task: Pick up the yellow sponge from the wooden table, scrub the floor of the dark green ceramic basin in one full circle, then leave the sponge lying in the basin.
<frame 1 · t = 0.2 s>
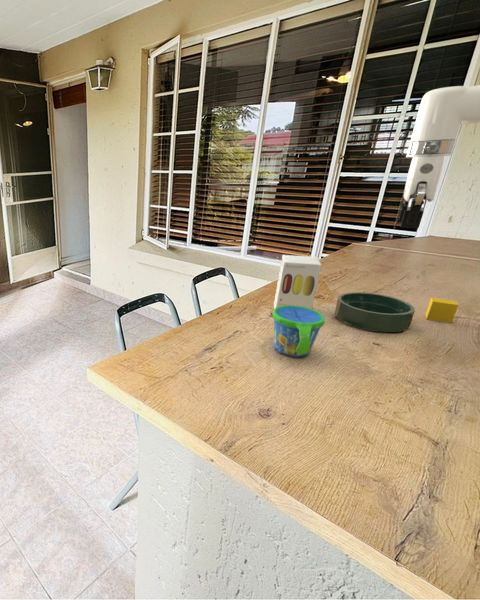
hand: (407, 224, 86), 28 cm above the counter, tool pointing down, fingers open, 9 cm apart
snack cup: (291, 351, 86), on the counter
supplement box: (290, 312, 108), on the counter
sponge: (438, 319, 98), on the counter
basin: (369, 320, 99), on the counter
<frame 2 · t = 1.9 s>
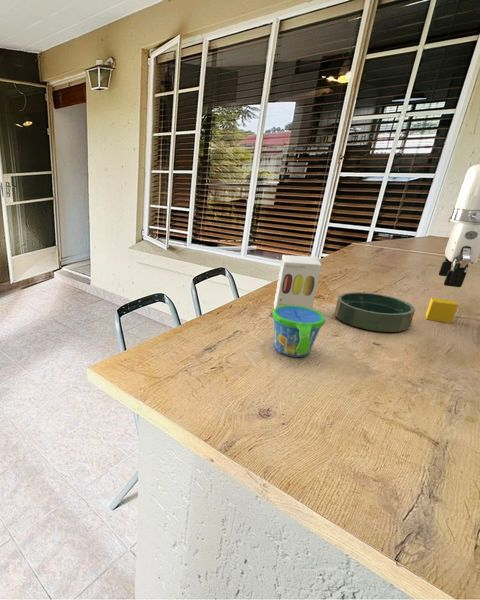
hand: (449, 280, 94), 11 cm above the counter, tool pointing down, fingers open, 9 cm apart
nothing on the counter moved.
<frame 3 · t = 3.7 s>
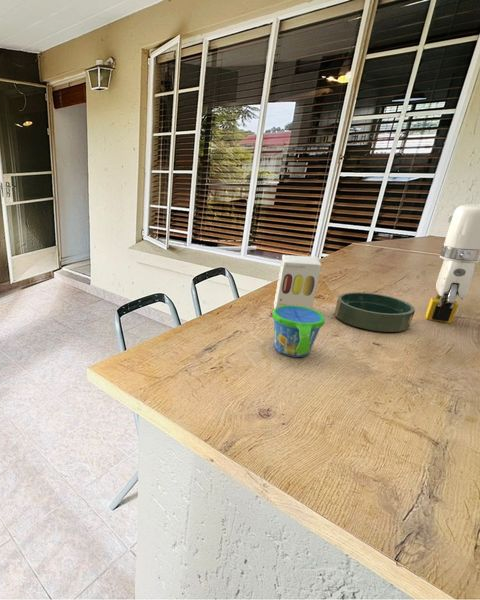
hand: (438, 316, 97), 1 cm above the counter, tool pointing down, fingers closed on sponge, 3 cm apart
sponge: (438, 319, 98), on the counter, touching gripper
everything else where it was.
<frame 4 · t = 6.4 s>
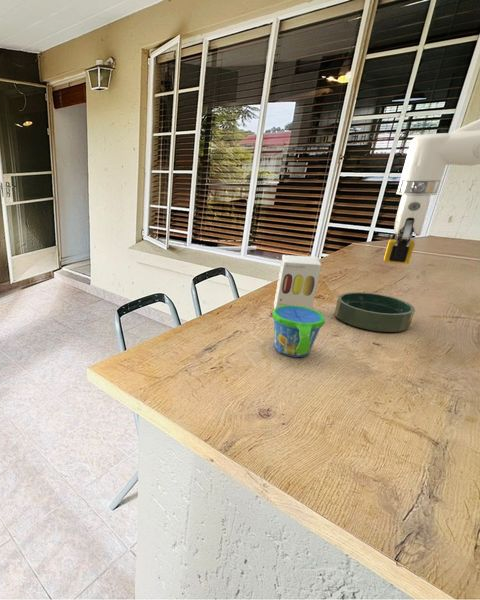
hand: (396, 258, 94), 18 cm above the counter, tool pointing down, fingers closed on sponge, 3 cm apart
sponge: (395, 261, 94), point 17 cm above the counter, touching gripper
everything else where it was.
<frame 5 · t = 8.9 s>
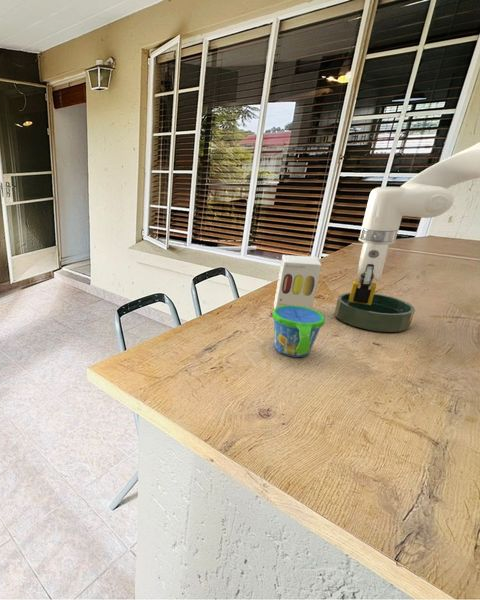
hand: (360, 299, 99), 6 cm above the counter, tool pointing down, fingers closed on sponge, 3 cm apart
sponge: (359, 301, 99), point 5 cm above the counter, touching gripper
everything else where it was.
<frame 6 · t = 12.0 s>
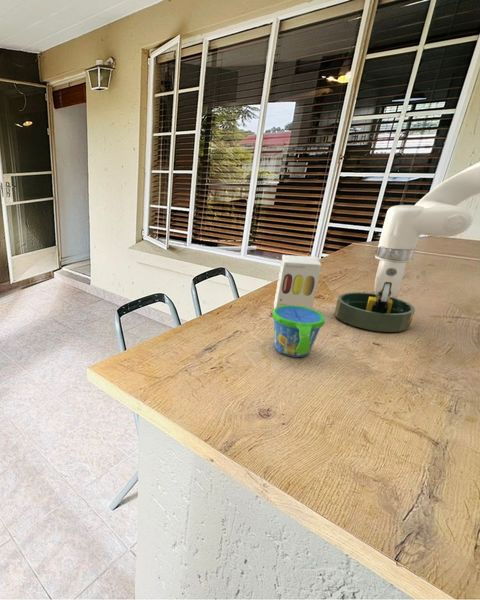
hand: (376, 315, 99), 1 cm above the counter, tool pointing down, fingers closed on sponge, 3 cm apart
sponge: (375, 317, 99), point 1 cm above the counter, touching gripper
everything else where it was.
when the fingers open (1 cm above the counter, at t = 14.2 s): sponge stays where it is, resting on basin.
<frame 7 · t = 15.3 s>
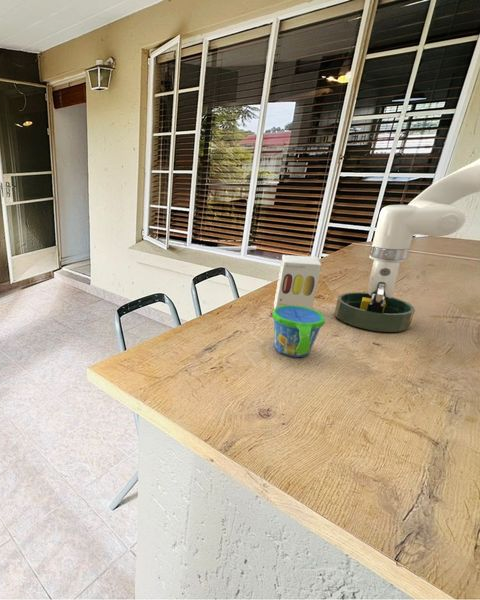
hand: (372, 312, 98), 3 cm above the counter, tool pointing down, fingers open, 9 cm apart
sponge: (369, 318, 99), point 1 cm above the counter, touching basin
everything else where it was.
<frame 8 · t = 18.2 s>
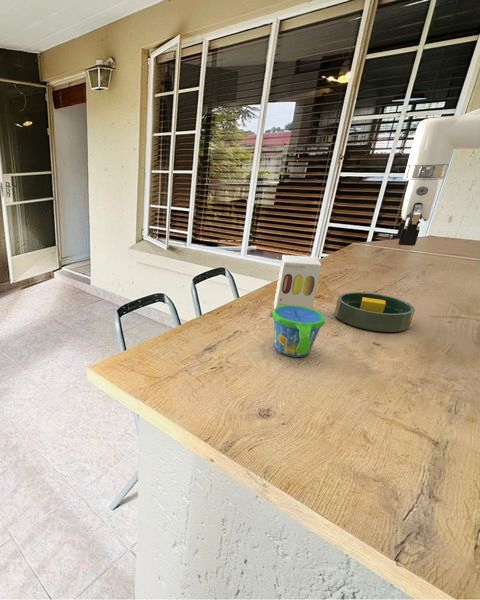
hand: (405, 241, 92), 22 cm above the counter, tool pointing down, fingers open, 9 cm apart
nothing on the counter moved.
at the end: sponge inside the target area in the basin (0.2 cm from its centre), point 0.6 cm above the basin's base; the gripper is holding nothing; sponge tilted 0° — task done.
